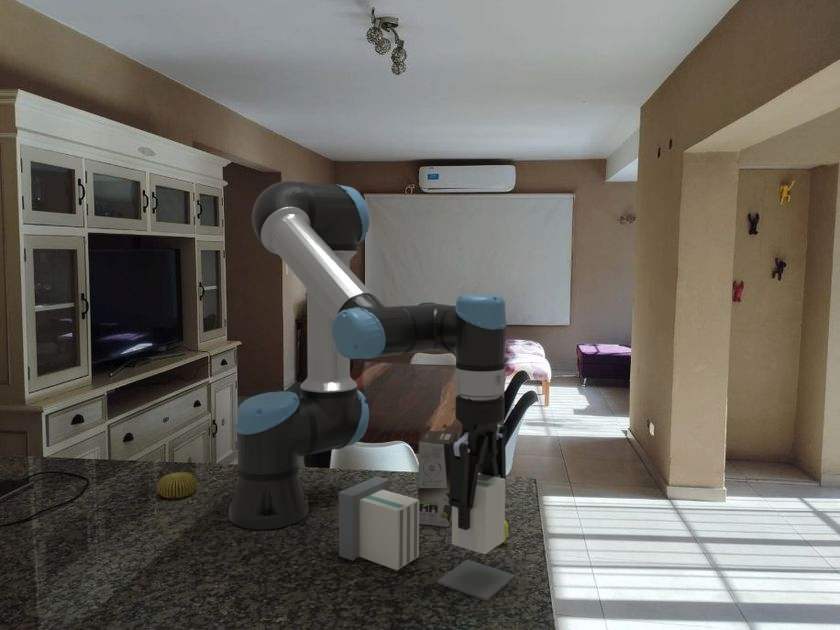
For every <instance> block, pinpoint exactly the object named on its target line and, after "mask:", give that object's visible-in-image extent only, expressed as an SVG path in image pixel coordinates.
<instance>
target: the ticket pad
mask: <svg viewBox="0 0 840 630" xmlns="http://www.w3.org/2000/svg"><path fill="white" fill-rule="evenodd" d="M337 495H338V557H341V558H343V559H346V560H348V559H349V560H348V561H351V560H352V561H351V562H353V561H355V560H357V559H358V558H363V559H364V560H366V561H367V560H368V561H371V562H374V563H375V564H378V565H381V566H385V567H386V568H390V569H392V570H394V571H399V570H400V569H402V568H403V567H404V566H407V565H408V564H410V563H411V562H412V561H415V560H416V559H417V558H419V557H420V555H419V554H420V552H419V550H420V539H419V538H420V524H419V500H418V498H414V497H410V496H407V495H404V494H403V495H402V494H399V493H396V492H393V491H390V479H388V478H385V477H381V476H377V475H376V476H373V477H371V478H369V479H367V480H365V481H362V482H359V483H357V484H355V485H353V486H349V487H347V488H346V489H343V490H340V491H339V492H338V494H337ZM356 558H357V559H356Z"/></svg>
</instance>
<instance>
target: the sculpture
mask: <svg viewBox="0 0 840 630" xmlns="http://www.w3.org/2000/svg"><path fill="white" fill-rule="evenodd" d="M158 480H159V481H158V482H157V485H156V489H157V493H158V494H159V495H160V496H161V497H163V498H166V499H181V498H185V497H187V496H190V495H192V494H193V493H195V491H196V489H197V486H198V481H197V480H198V479H197V477H196V476H195V475H193V474H191V473H190V472H184V471H181V472H180V471H179V472H172V473H168V474H166V475H164V476H162V477H161V478H160V479H158Z"/></svg>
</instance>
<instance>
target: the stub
mask: <svg viewBox="0 0 840 630" xmlns="http://www.w3.org/2000/svg"><path fill="white" fill-rule="evenodd" d="M499 477H500V476H499ZM499 477H493V476H489V475H484V474H482V473H481V472H478V478H477V484H476V490H475V496H474V502H473V507H476V549H475V550H474V551H473V552H476V553H479V554H482V555H487V554H488V553H490V551H492V550H493V549H494V548H496V547H498V545H499V544H500V543H502V542H503V541H504V535H505V532H506V531H505V520H506V517H505V516H506V484H505V479H503V478H499ZM504 542H505V541H504ZM504 542H503V543H504ZM503 543H502V544H503ZM451 544H452V545H453V546H456V547H459V546H458V508H457V507H453V506H452V521H451ZM500 545H501V544H500ZM500 545H499V546H500Z"/></svg>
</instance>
